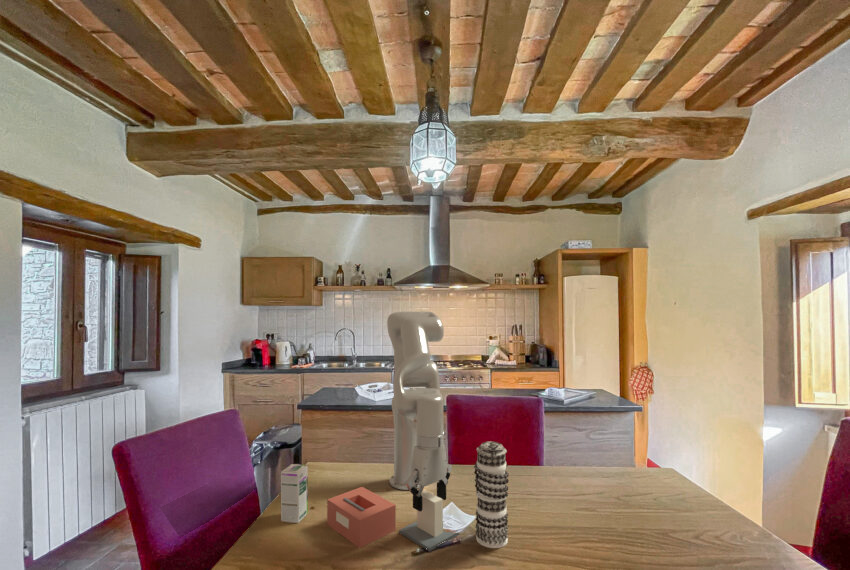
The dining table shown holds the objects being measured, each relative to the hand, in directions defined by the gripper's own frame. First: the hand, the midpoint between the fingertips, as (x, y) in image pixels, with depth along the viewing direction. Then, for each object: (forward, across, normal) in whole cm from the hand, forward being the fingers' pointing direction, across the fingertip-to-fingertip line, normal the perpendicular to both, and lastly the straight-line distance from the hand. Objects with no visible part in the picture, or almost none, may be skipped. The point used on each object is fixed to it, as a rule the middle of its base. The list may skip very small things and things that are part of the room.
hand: (429, 503), depth 115 cm
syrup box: (+8, +23, -34) cm, 41 cm away
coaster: (+8, 0, 0) cm, 8 cm away
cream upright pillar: (+7, 0, 0) cm, 7 cm away
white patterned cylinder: (+8, -10, +14) cm, 19 cm away
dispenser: (+8, +12, -16) cm, 21 cm away
